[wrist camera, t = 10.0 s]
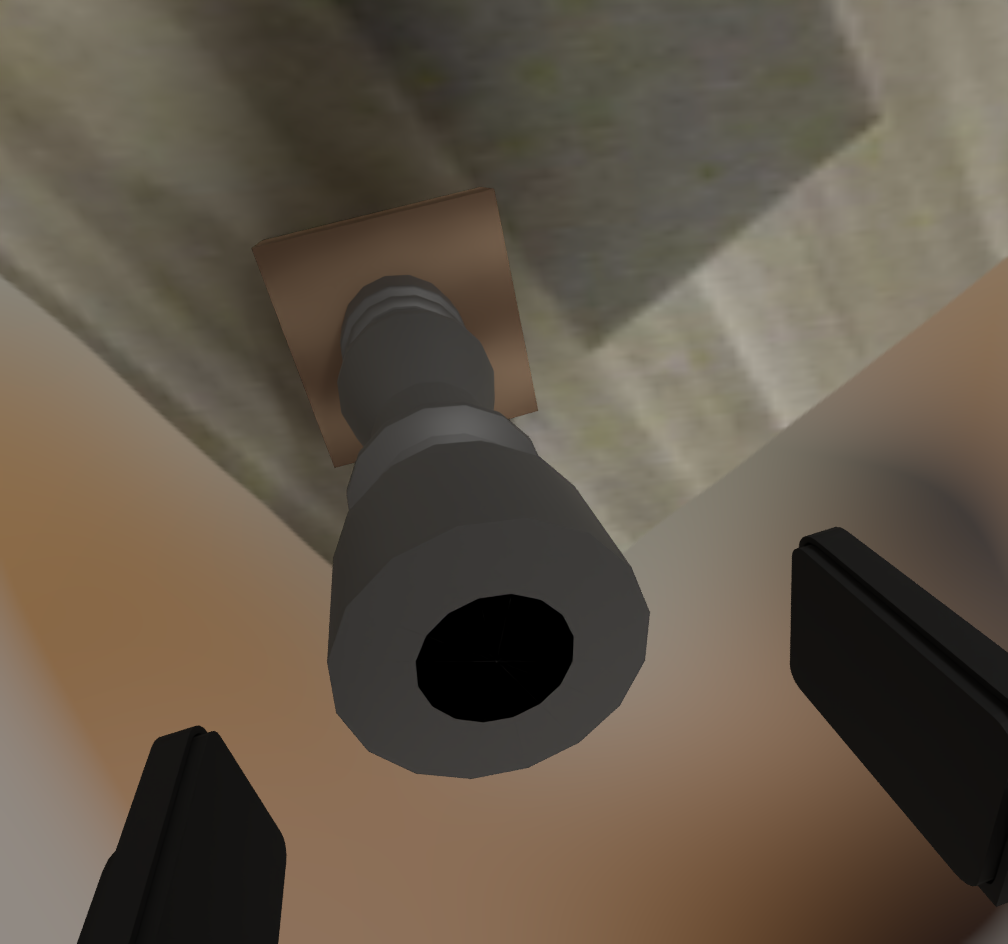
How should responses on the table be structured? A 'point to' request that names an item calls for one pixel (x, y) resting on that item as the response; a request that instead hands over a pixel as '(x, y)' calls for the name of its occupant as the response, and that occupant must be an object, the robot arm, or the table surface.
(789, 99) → the table surface
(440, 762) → the candle holder
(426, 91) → the table surface
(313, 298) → the walnut plinth
